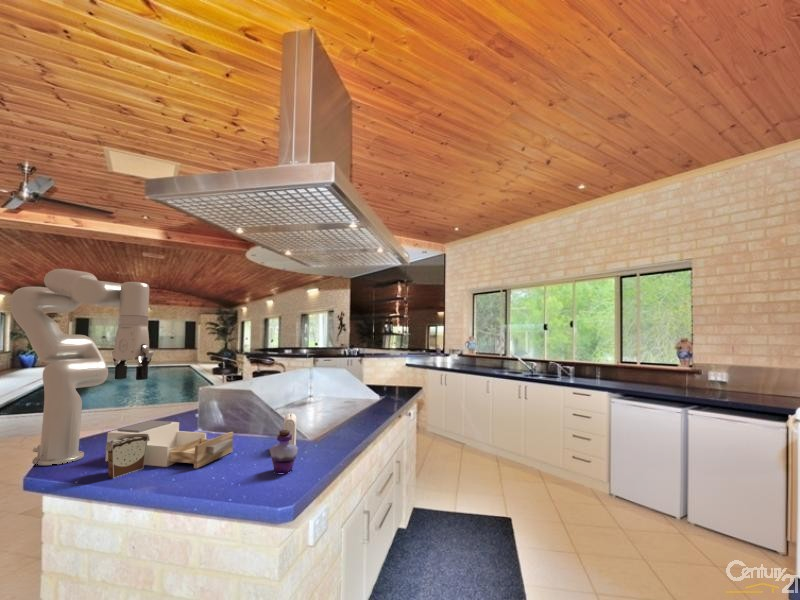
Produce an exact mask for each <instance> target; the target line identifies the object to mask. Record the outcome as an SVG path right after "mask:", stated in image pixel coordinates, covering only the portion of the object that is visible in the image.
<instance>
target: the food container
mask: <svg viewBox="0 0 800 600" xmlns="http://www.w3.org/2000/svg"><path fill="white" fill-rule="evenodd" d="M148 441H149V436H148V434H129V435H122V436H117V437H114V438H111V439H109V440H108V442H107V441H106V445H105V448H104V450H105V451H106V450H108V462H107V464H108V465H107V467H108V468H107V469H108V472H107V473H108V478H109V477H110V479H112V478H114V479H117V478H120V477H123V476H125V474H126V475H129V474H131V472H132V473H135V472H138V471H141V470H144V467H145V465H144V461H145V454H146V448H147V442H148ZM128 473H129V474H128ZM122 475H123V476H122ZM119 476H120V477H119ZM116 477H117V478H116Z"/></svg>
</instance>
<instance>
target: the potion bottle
mask: <svg viewBox="0 0 800 600" xmlns="http://www.w3.org/2000/svg"><path fill="white" fill-rule="evenodd" d="M278 433H279V434H277V435H276V440H277V442H278V444H275V445H273V446H271V447H269V453H270V458H271V461H272V466H273V473H274V472H275V473H288V472H290V471H292V472H293V467H294V463H295V460H296V458H297V455H298V450H299V447H298V446H297V444H296V445H291V444H289V440H292V435H291V434H290V431H289V430H284V429H281V430H279V431H278Z"/></svg>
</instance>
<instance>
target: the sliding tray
mask: <svg viewBox="0 0 800 600" xmlns="http://www.w3.org/2000/svg"><path fill="white" fill-rule="evenodd" d="M233 447H234V431H229V432H226V433H224V434H221V435H218V436H216V437H214V438H206V439H198V440H195V441H192V442H189V443H187V444H184V445H181V446H179V447H176V448H173V449H170V450H169V461H172V462H177V463H187V464H193V469H199V468H201V467H203V466H205V465H207V464H209V463H212V462H213V461H216V460H218V459H220V458H222V457H224V456H227V455H228V454H230V453H233V449H234V448H233Z"/></svg>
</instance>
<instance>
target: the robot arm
mask: <svg viewBox="0 0 800 600" xmlns="http://www.w3.org/2000/svg"><path fill="white" fill-rule="evenodd" d="M43 282H44V285H45V287H44V286H24V287H20V288H17V289H16V290H14V291H13V293H12V294H11V297H10V301H9V306H10V312H11V314H12V317H13V319H14V321H16V323H17V325H18V326H19V327H20V328H21V330H22V331H23V332H24V333H25V335H26V337H27V340H29V343H30V344H31V346H32V349H33V350H34V353H35V354H36V356H37V357H38V358H39V360H40V361H41V362H43V363H46V364H47V365H46V366H45V367H44V368H43V370H42V383H43V388H44V390H43V392H44V396H43V397H44V400H43V403H44V404H43V412H42V413H43V414H42V424H41V425H42V426H41V436H40V444H38V446H36V447H34V448H32V452H33V453H37V456H36V457H33V458H32V462H31V463H32V465H35V464H36V463H37V461H38V460H39V459H40V460H39V461H38V463H37V464H38V465H37V464H36V465H35V466H53V465H52V464H57V465H61V464H62V463H63V464H68V463H73V462H75V461H78V460H81V459H82V458H84V457H85V452H84V451H82V450H79V448H80V447H79V445H80V435H81V424H82V423H81V422H82V412H83V409H82V408H83V399H82V397H81V396H80V394H79V393H78V391H77V390H76V389H79V388H88V387H95V386H99V385H101V384H104V383H105V381H107V379H108V375H109V368H108V365H107V364H108V363H107V362H106V360H105V358H104V357H103V355H102V353H101V352H100V350H99V348H98V346H97V344H96V343H95V342H94V340H93V339H92V338H90V337H89V336H87V335H84V334H68V333H65V332H63V331H62V330H61V328H60V326H59V324H58V323H57V322H56V321H55V320H54V319H53V318H51V317H50V316H49V315H47V314H45V313H53V314H54V313H56V314H68V313H72V312H73V311H75V310H77V309H78V308H79V307H80V306H82V305H83V304H85V305H90V306H95V307H96V306H97V307H111V308H119V312H118V314H119V315H118V327H117V330H116V333H115V339H114V346H113V351H112V358H113V359H112V360H113V362H114V364H113V366H115V367H114V379H115V380H122V379H123V380H124V379H127V377H128V376H127V372H128V365H126V364H127V363H128V361H133V360H135V362H136V364H137V365H136V367H135V368H136V371H135V372H136V373H135V380H136V381H142V380H143V381H144V380H148V378H149V376H148V375H149V374H148V373H149V366H150V363H151V361H152V357H153V355H154V351H153V350H152V349H151V348H150V337H149V336H150V334H149V328H148V327H149V312H150V311H149V309H150V307H149V306H150V285H149V284H148V283H145V282H140V281H126V282H123V283H120V282H119V283H118V282H112V281H103V280H98V278H97V277H96V276H95V275H94V274H93V273H91V272H88V271H81V270H75V269H67V268H55V269H51V270H50V271H48V272H47V273H46V274H45V276H44V279H43ZM42 455H43V456H42ZM41 456H42V457H41ZM72 461H73V462H72ZM67 462H68V463H67Z"/></svg>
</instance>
